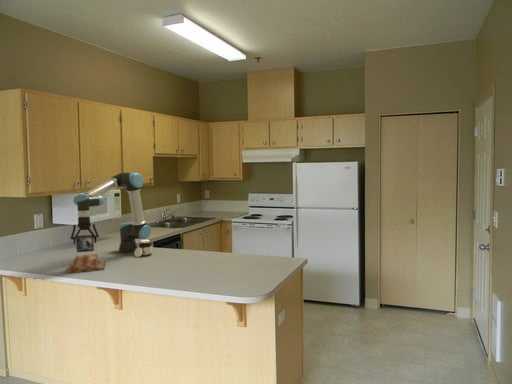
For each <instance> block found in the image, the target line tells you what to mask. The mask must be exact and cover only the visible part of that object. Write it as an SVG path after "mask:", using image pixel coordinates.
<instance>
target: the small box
mask: <svg viewBox="0 0 512 384" xmlns="http://www.w3.org/2000/svg"><path fill="white" fill-rule="evenodd" d="M93 238H94V237H93V236H92V235H91V234H87V235H86V234H85V235H84V234H82V235H78V236H77V237H76V242H77V249H76V252H77V253H87V252H94V251H95V248H93Z"/></svg>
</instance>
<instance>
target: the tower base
mask: <svg viewBox="0 0 512 384" xmlns="http://www.w3.org/2000/svg"><path fill="white" fill-rule="evenodd" d="M98 255H99V254H98V253H96V254H82V255H76V256H75V258H74V260H73V263H70V264H68V266H67V268H66V269H65V274H73V273H82V272H83V273H84V272H93V271H95V272H96V271H105V268H106V263H107V262H106V260H104V261H102V260H101V261H99V258H98V257H99V256H98Z"/></svg>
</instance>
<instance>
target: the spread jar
mask: <svg viewBox="0 0 512 384" xmlns="http://www.w3.org/2000/svg"><path fill="white" fill-rule="evenodd" d="M152 254H153V245H152V243H151V242H150V240H149V239H140V243H139V244H138V248H137V249H136V250H135V251H134V256H135V257H136V258H140V257H149V256H151V255H152ZM148 255H149V256H148Z"/></svg>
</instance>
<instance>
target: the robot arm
mask: <svg viewBox="0 0 512 384" xmlns="http://www.w3.org/2000/svg"><path fill="white" fill-rule="evenodd" d="M143 185H144V178H143V176H142V175H141V174H140V173H138V172H132V171H131V172H121V173H117V174H115V175H113V176H111V177H109V178H108V179H107V180H106V181H105V182H102V183H101V184H98V185H97V186H95V187H94V188H92V189H90V190H88V191H86V192H84V193H78V194H77V195H75V196H74V197H73V204H74V205H76V206H77V217H78V218H77V224H73V225H72V227H73V228H72V232H71V236H70V240H73V245H75V250H77V242H76V237H77V236H79V234H80V233H81V231H88V232H89V233H90V235H92V236H93V248H94V249H95V248H96V243H97V238H99V236H100V235H99V233H98V229H97V228H96V223H95V222H94V223H91V217H90V215H91V214H90V213H91V212H90V208H93V207H99V206H103V204H104V202H105V200H104V199H105V198H104V196H103V195H106V194H107V193H109V192H110V191H112V190H116V189H120V188H125V192H127V193H128V198H129V203H130V210H131V217H132V221H130V222H125V223H124V222H122V223H121V224H119V235H120V236H119V237H120V243H119V246H118V252H119V253H133V252H134V253H135V250H136V249H137V248H138V247H139V245H138V244H137V241H136V240H148V238H149V237H150V235H151V233H152V228H151V226H150V225H149V224H148V222H147V220H145V216H144V210H143V209H144V208H143V204H142V197H141V190H142V186H143ZM91 227H93V228H92V229H93V230H92V229H91ZM77 228H78V230H77ZM76 230H77V232H76ZM93 231H94V232H93ZM75 232H76V234H75Z"/></svg>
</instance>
